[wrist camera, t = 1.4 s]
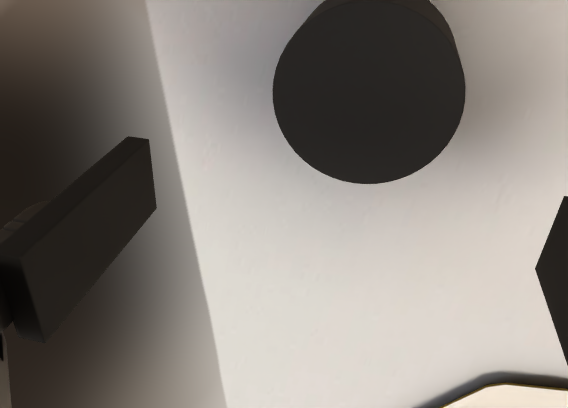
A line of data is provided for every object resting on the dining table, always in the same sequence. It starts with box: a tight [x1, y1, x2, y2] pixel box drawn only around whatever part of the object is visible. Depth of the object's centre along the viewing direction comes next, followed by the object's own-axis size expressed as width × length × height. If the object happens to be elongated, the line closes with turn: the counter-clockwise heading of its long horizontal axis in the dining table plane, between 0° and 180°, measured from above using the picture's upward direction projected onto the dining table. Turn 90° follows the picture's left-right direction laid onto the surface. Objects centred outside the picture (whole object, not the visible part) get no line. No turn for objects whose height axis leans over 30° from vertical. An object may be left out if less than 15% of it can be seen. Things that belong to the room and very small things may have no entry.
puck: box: [273, 0, 465, 184], centre depth 26 cm, size 9×9×5 cm
